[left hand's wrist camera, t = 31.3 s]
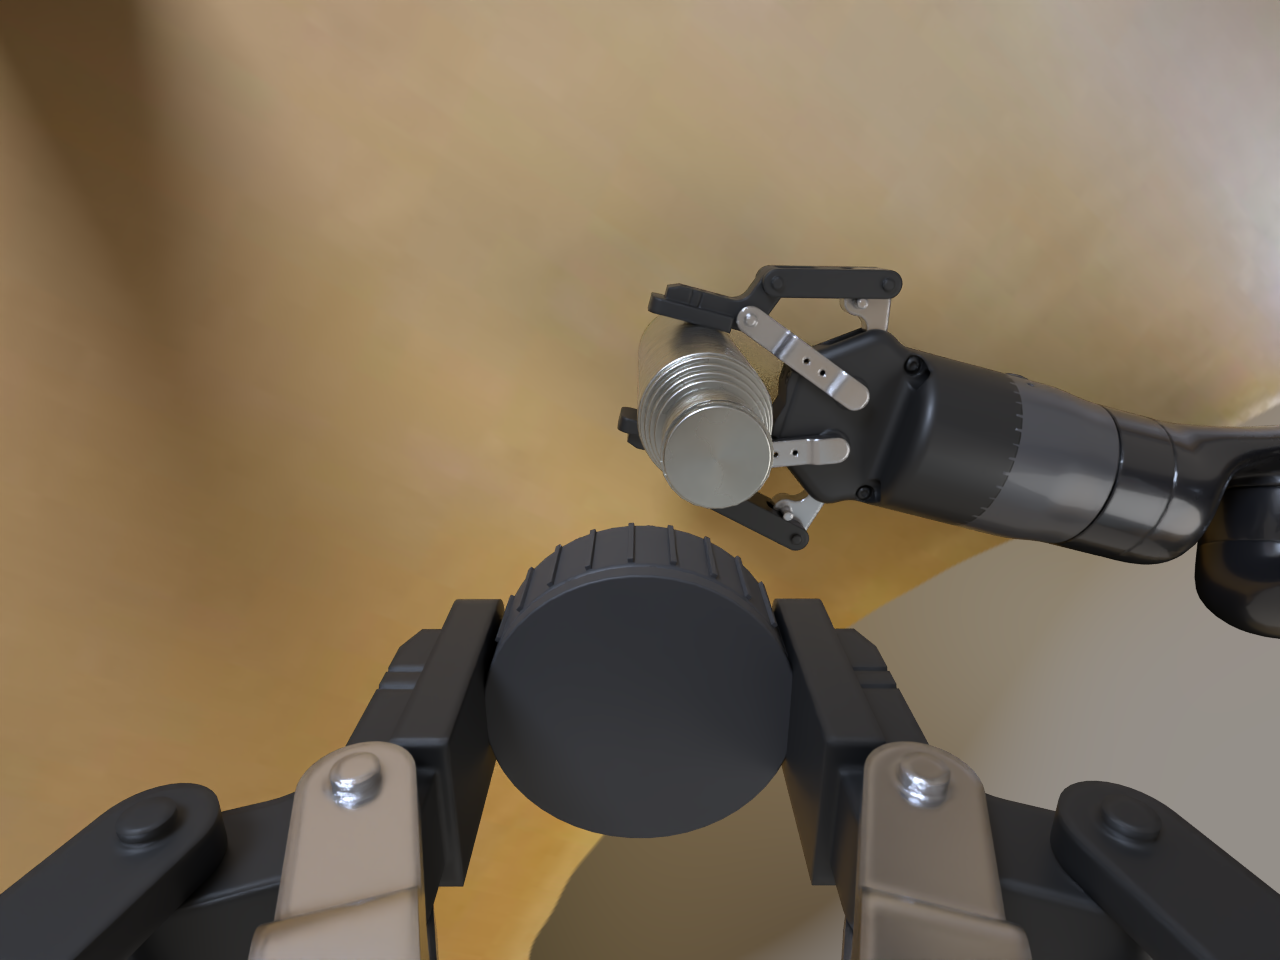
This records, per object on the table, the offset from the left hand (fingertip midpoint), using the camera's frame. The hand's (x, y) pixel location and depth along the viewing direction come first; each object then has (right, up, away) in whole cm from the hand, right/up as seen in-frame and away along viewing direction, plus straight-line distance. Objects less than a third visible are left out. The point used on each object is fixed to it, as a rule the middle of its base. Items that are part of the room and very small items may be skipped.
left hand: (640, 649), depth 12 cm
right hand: (0, +8, +22) cm, 23 cm away
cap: (0, -1, -1) cm, 1 cm away
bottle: (+2, +10, +28) cm, 30 cm away
